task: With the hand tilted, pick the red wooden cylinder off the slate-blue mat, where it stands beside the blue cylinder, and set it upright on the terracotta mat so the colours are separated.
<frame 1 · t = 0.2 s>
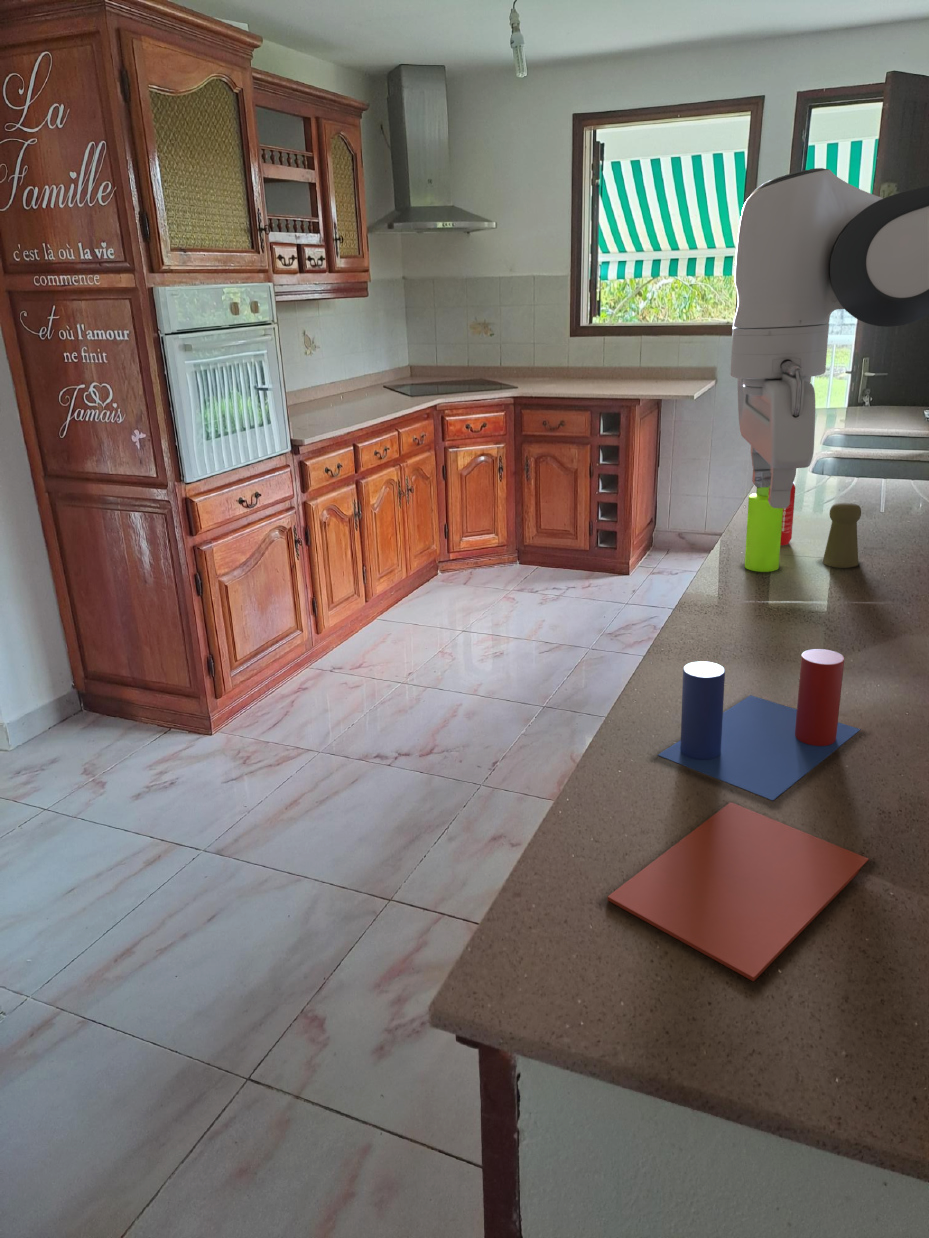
hand: (769, 496, 91), 29 cm above the counter, tool pointing down, fingers open, 8 cm apart
terracotta mat: (740, 880, 78), on the counter
blue mat: (760, 744, 100), on the counter
cork: (840, 563, 159), on the counter
red cylinder: (815, 736, 100), resting on blue mat
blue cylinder: (700, 750, 99), resting on blue mat
soap dispenser: (761, 567, 160), on the counter
beverage can: (777, 543, 173), on the counter
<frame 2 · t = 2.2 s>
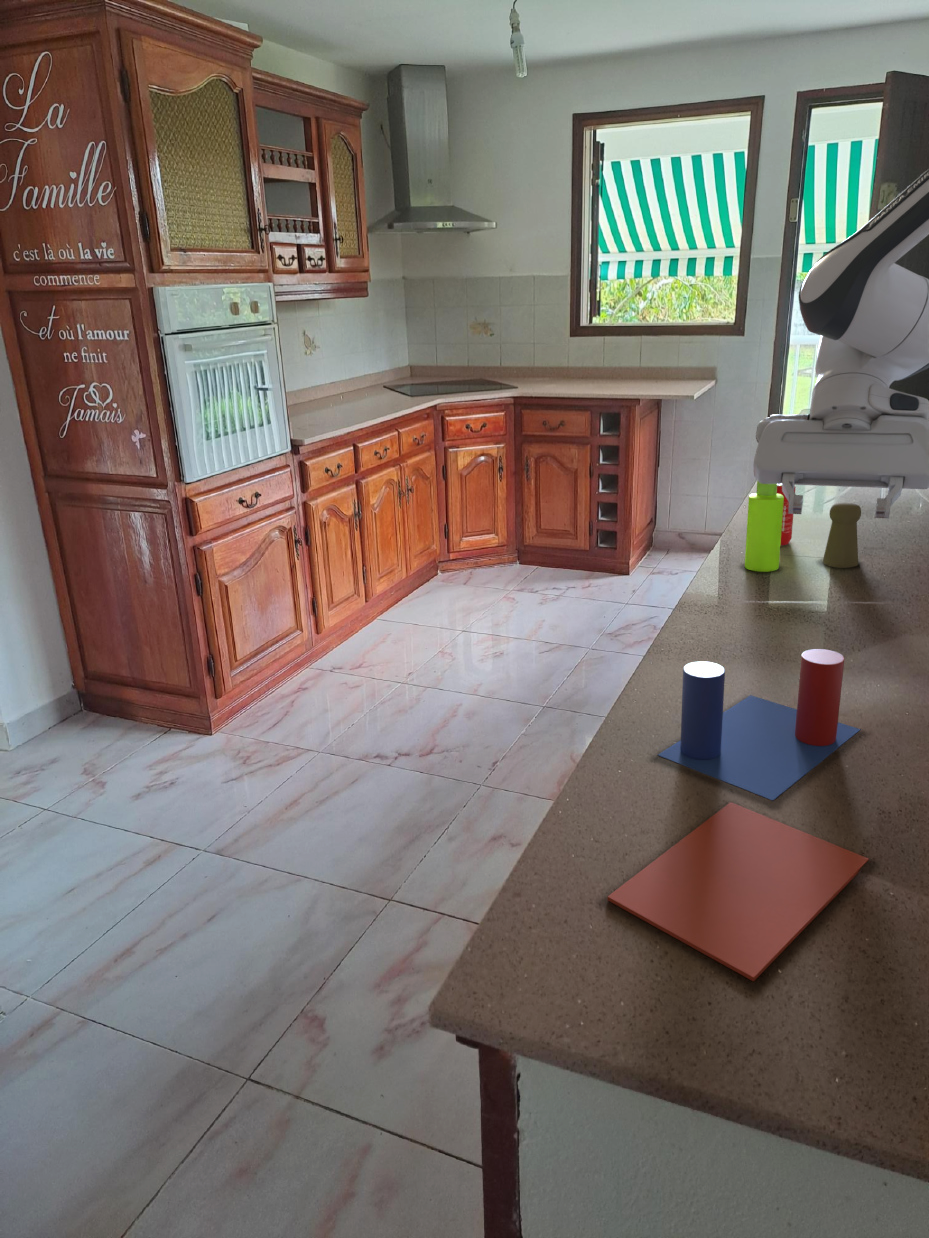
hand: (837, 513, 103), 23 cm above the counter, tool tilted 45°, fingers open, 8 cm apart
nothing on the counter moved.
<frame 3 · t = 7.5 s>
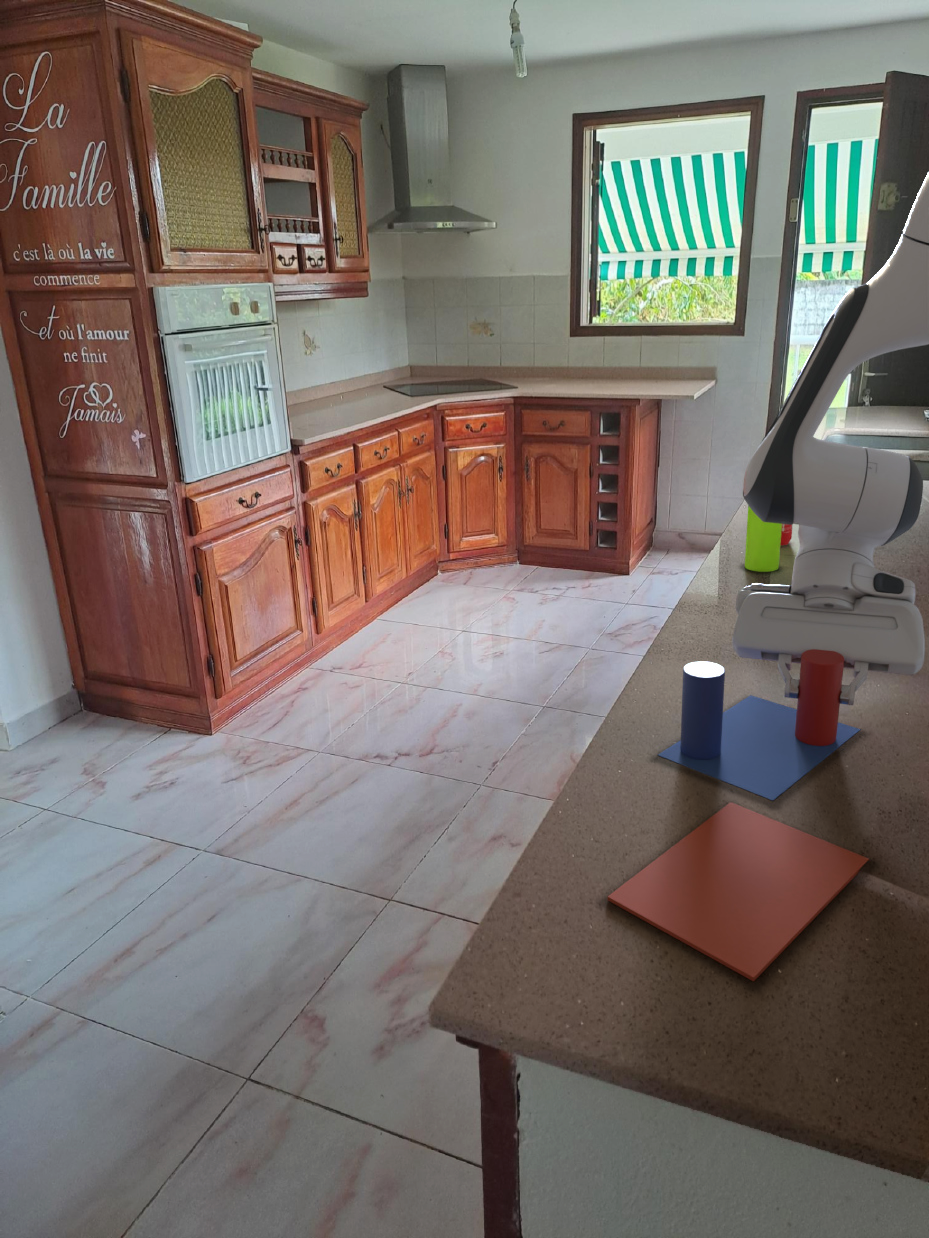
hand: (818, 699, 98), 5 cm above the counter, tool tilted 45°, fingers closed on red cylinder, 4 cm apart
red cylinder: (815, 736, 100), resting on blue mat, touching gripper
everything else where it was.
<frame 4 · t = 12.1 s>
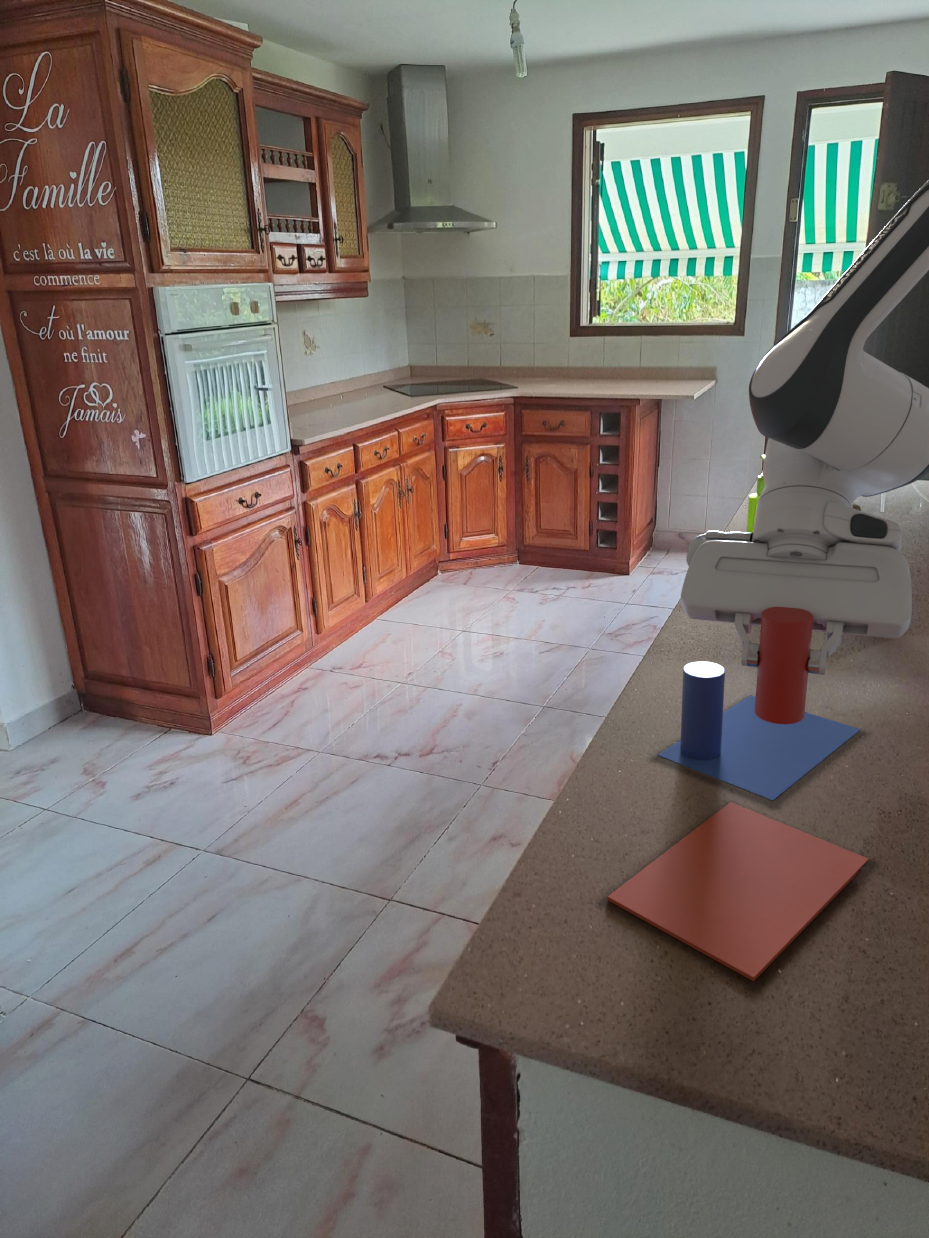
hand: (782, 668, 80), 16 cm above the counter, tool tilted 45°, fingers closed on red cylinder, 4 cm apart
red cylinder: (779, 713, 83), point 12 cm above the counter, touching gripper
everything else where it was.
when the fingers open (5 cm above the counter, at t = 17.0 s): red cylinder stays where it is, resting on terracotta mat.
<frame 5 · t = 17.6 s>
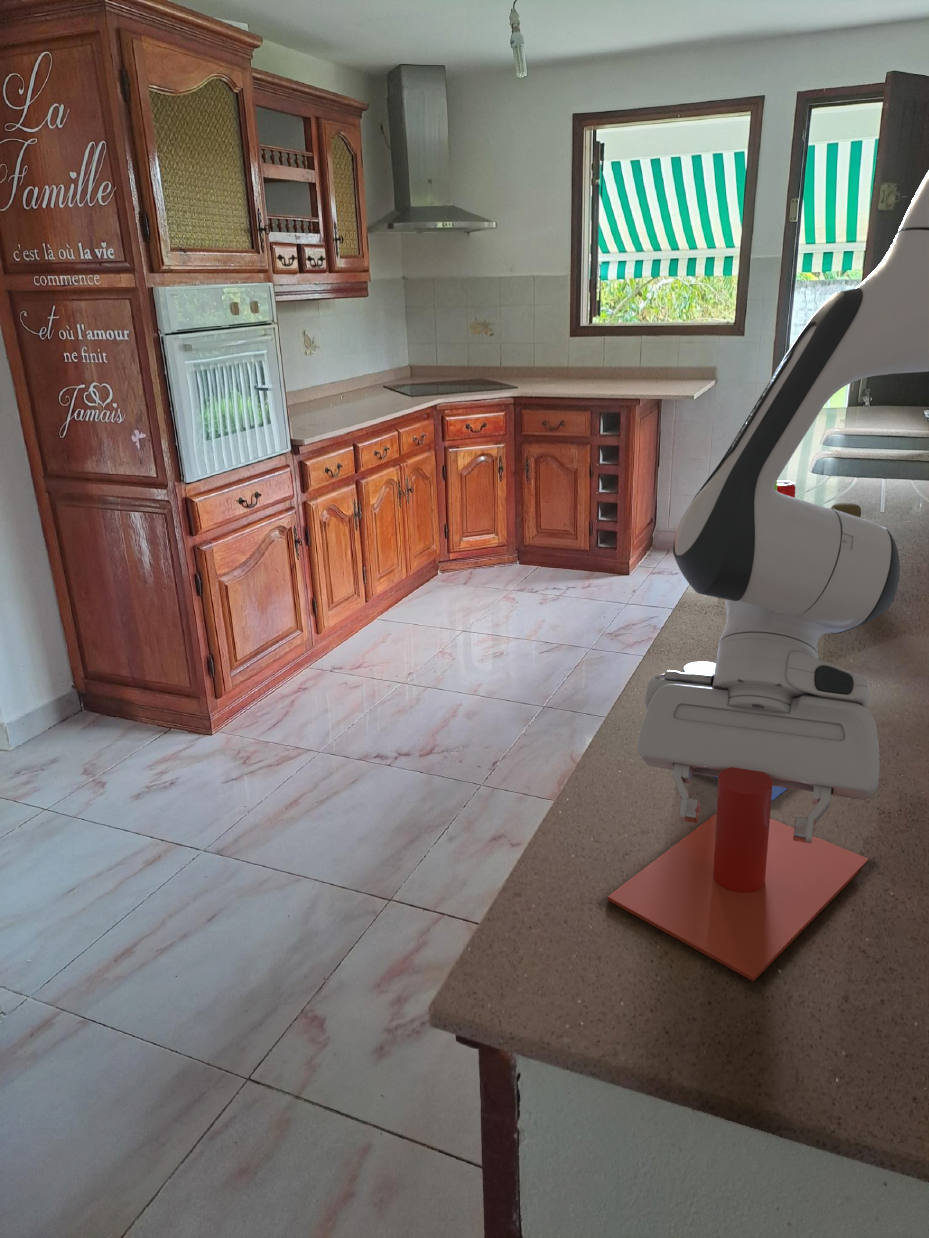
hand: (743, 830, 75), 6 cm above the counter, tool tilted 45°, fingers open, 8 cm apart
red cylinder: (738, 876, 78), resting on terracotta mat
everything else where it was.
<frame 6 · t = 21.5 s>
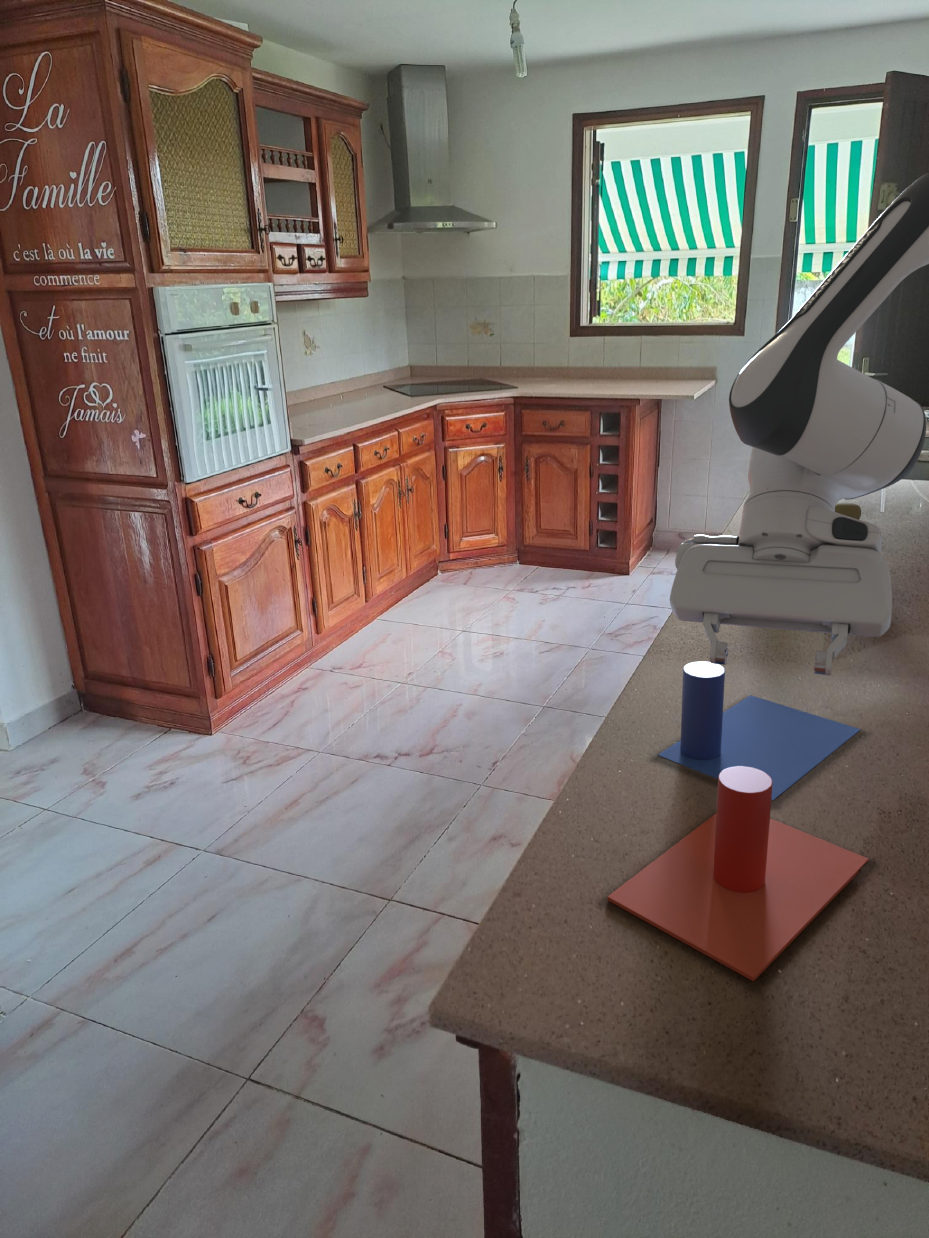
hand: (768, 667, 83), 15 cm above the counter, tool tilted 45°, fingers open, 8 cm apart
nothing on the counter moved.
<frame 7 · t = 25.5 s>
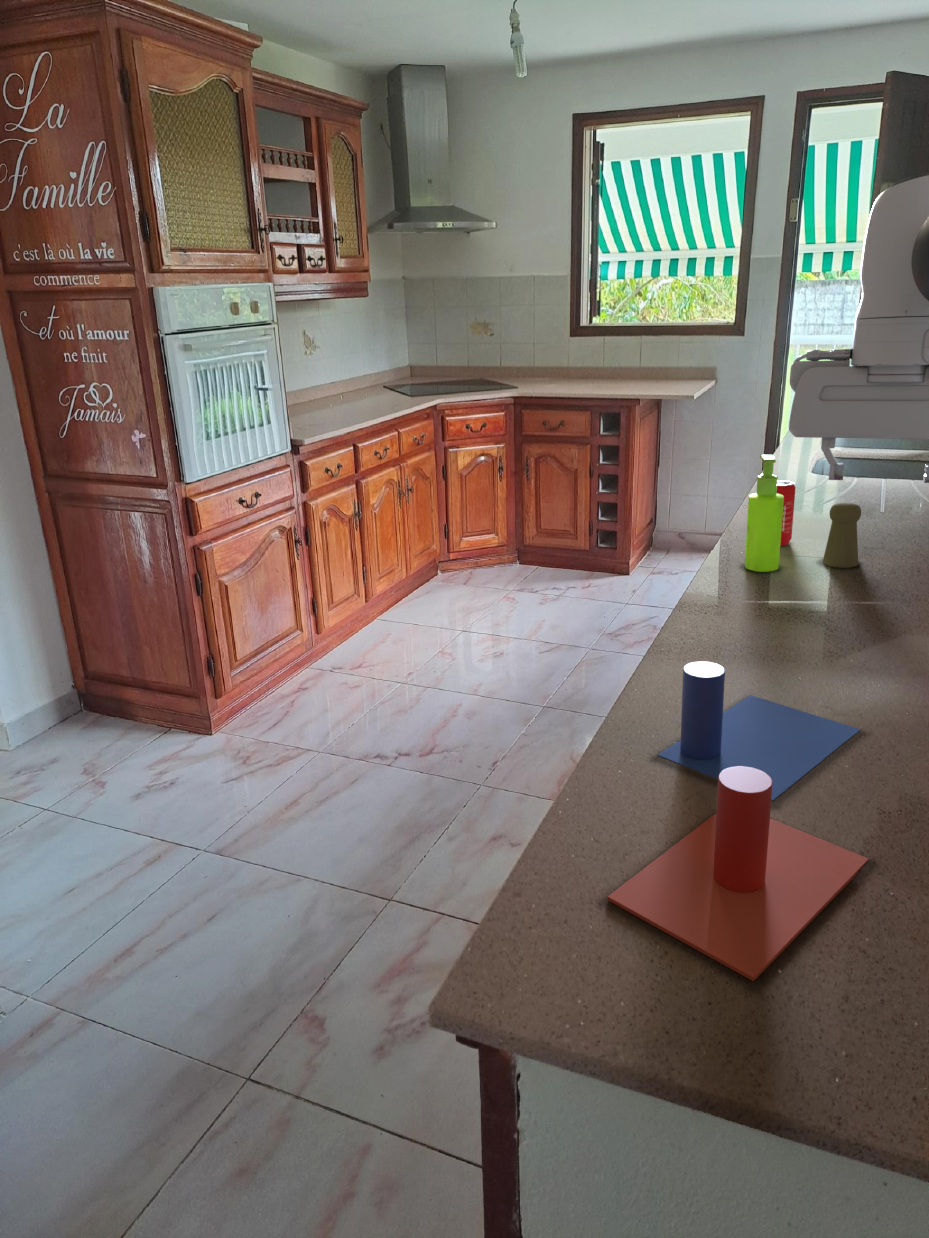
hand: (882, 481, 96), 28 cm above the counter, tool pointing down, fingers open, 8 cm apart
nothing on the counter moved.
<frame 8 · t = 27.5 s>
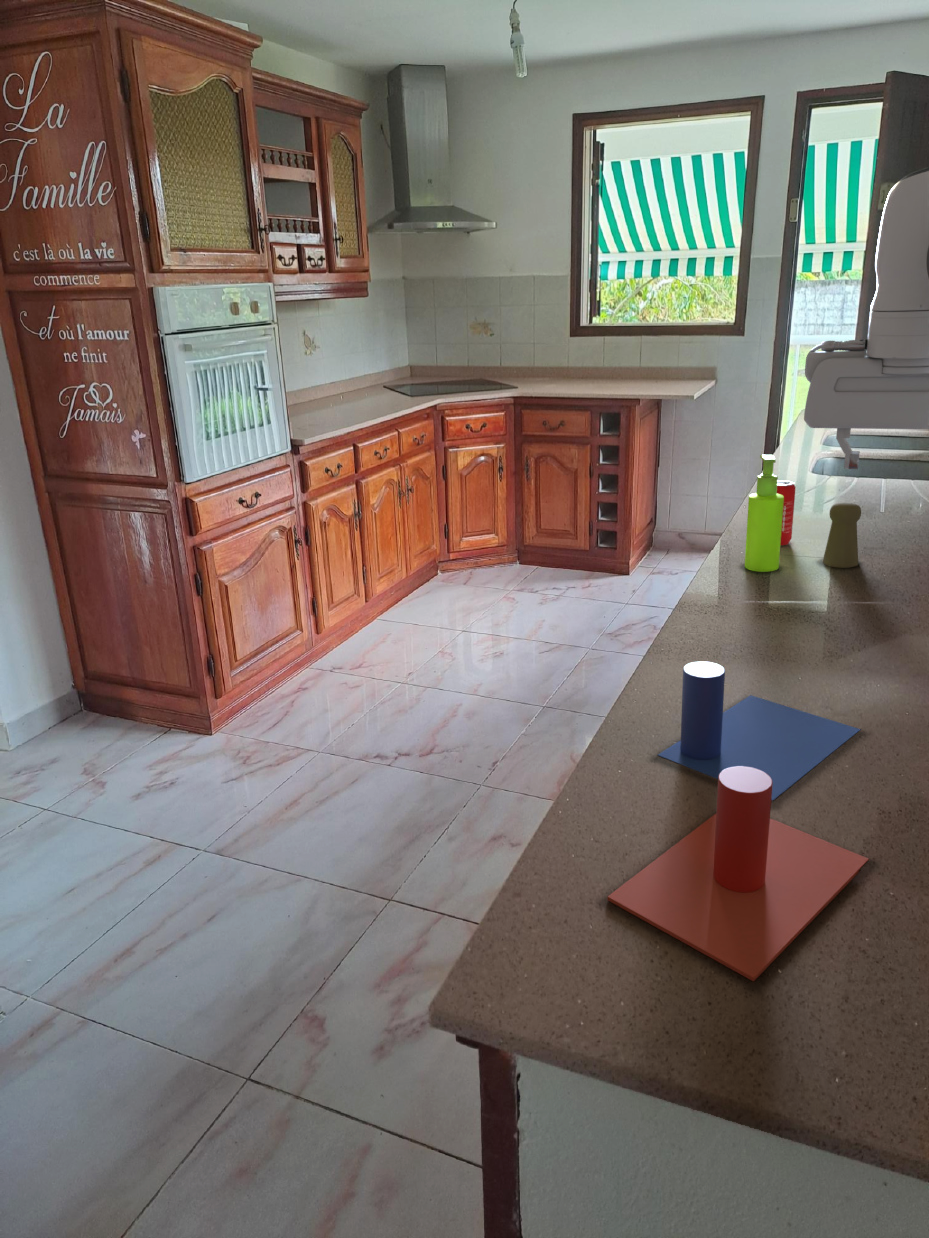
hand: (897, 469, 97), 29 cm above the counter, tool pointing down, fingers open, 8 cm apart
nothing on the counter moved.
at the end: red cylinder inside the target area on the terracotta mat (0.1 cm from its centre), point 0.4 cm above the terracotta mat's base; red cylinder tilted 0°; the gripper is holding nothing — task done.
